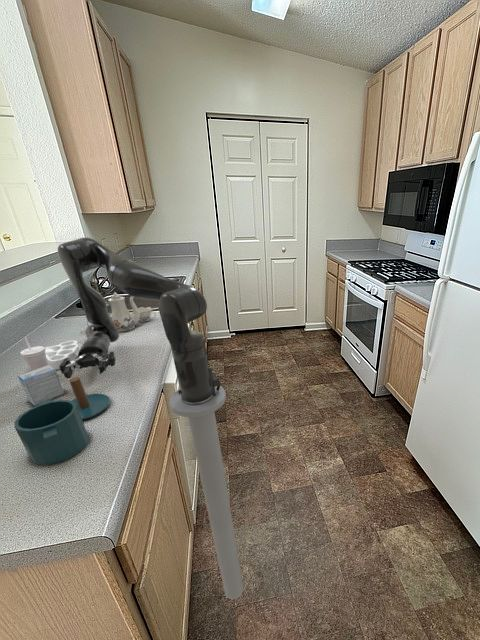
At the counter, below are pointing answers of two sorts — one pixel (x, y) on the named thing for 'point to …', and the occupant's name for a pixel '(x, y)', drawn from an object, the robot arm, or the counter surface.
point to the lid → (88, 400)
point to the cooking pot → (52, 431)
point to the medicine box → (41, 384)
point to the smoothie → (34, 356)
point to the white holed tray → (61, 353)
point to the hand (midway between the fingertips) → (84, 373)
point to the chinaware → (127, 313)
